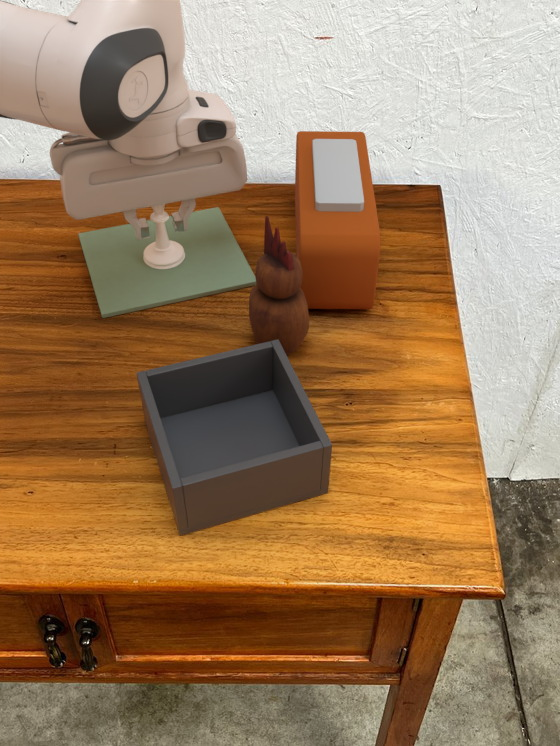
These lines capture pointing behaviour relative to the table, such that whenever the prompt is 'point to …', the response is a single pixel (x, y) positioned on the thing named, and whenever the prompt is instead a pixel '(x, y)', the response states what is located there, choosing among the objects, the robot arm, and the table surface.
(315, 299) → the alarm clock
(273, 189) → the table surface
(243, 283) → the mat
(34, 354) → the table surface
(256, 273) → the wooden figurine
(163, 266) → the chess piece
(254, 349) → the tub
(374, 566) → the table surface
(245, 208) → the table surface
